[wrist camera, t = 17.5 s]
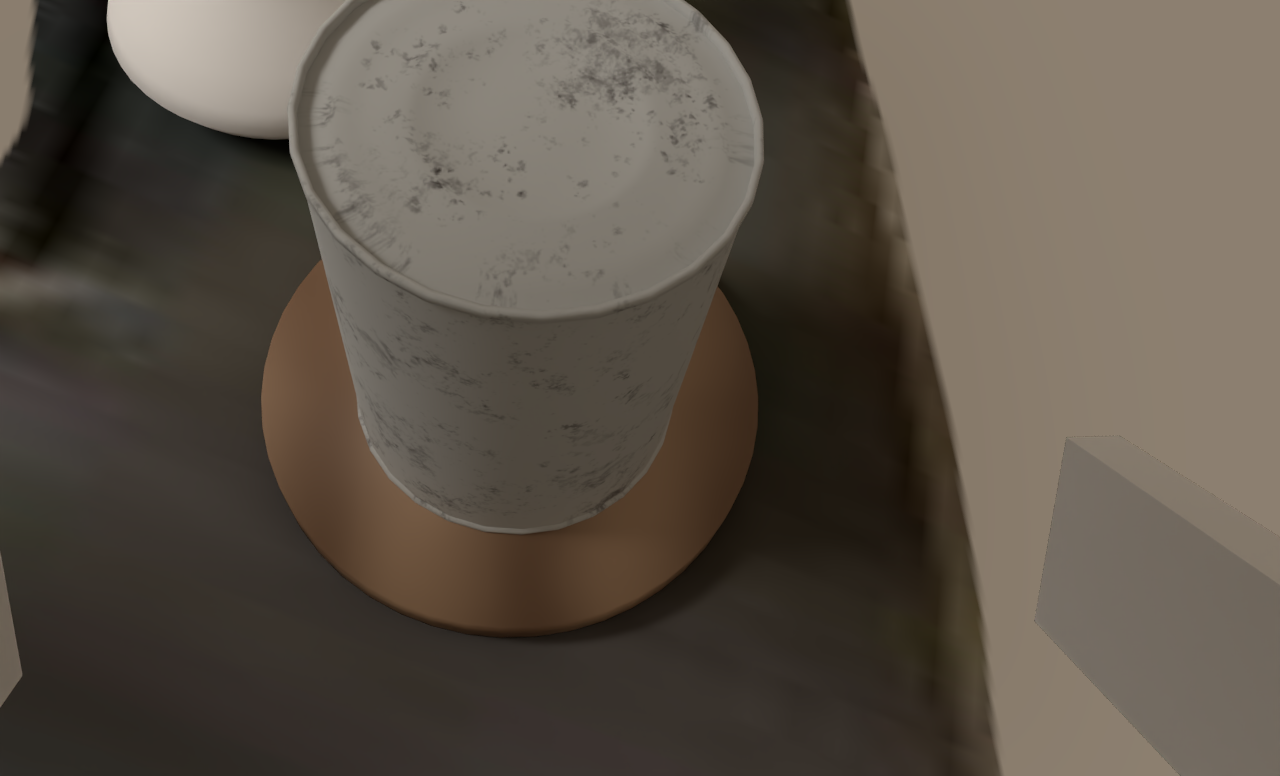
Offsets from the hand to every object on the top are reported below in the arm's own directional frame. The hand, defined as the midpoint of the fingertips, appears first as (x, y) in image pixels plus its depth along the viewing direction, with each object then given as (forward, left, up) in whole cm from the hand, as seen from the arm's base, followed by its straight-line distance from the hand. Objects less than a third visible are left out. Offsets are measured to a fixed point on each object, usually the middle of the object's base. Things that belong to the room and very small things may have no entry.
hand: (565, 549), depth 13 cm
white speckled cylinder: (+2, +10, -17) cm, 20 cm away
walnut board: (+2, +10, -18) cm, 20 cm away
